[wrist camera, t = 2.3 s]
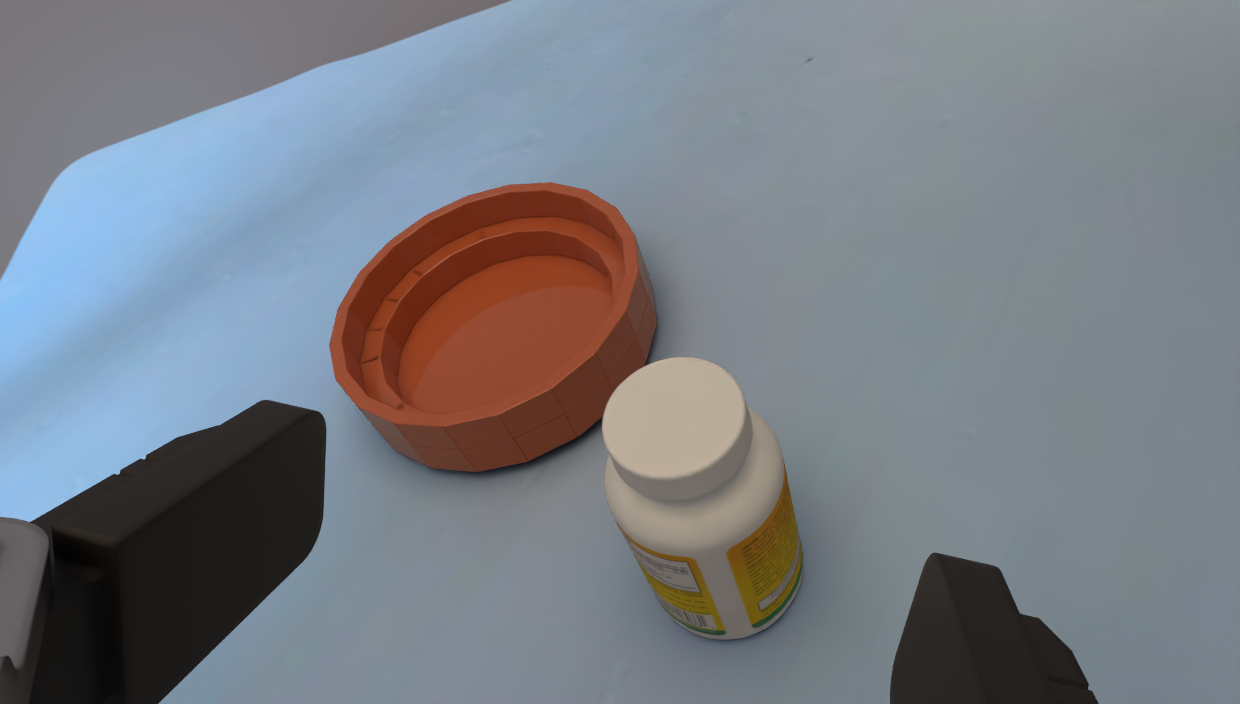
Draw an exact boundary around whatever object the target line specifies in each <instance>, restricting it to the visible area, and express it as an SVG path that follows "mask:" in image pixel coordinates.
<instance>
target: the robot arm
mask: <svg viewBox="0 0 1240 704" xmlns="http://www.w3.org/2000/svg"><path fill="white" fill-rule="evenodd" d="M325 454H326V423H325V420H324V417H323V415H322V414H321V413H320V412H318V411H314V410H310V409H305V408H301V407H297V406H292V405H288V404H283V403H279V402H275V401H270V400H262V401H260V402H258V403H256V404H255V405H253V406H251V407H250V408H248V409H246V410H245V411H243V412H241V413H240V414H238V415H236V416H235V417H233V418H231V419H230V420H228V421H226V422H225V423H223V424H221V425H219V426H214V427H211V428H208V429H204V430H201V431H197V432H194V433H191V434H187V435H184V436H180V437H177V438H175V439H174V440H172V441H170V442H169V443H167V444H165V445H163V446H162V447H160V448H158V449H156V450H155V451H153V452H151V453H149V454H148V455H146V459H145V460H143V459H139V460H137V461H136V462H134V463H132V464H130V465H129V466H127V467H125V468H123V469H122V470H121V471H120V474H119V475H116V474H113V475H111V476H110V477H108V478H106V479H104V480H103V481H101V482H99V483H97V484H96V485H94V486H92V487H90V488H89V489H87V490H85V491H84V492H82V493H80V494H78V495H77V496H75V497H73V498H71V499H70V500H68V501H66V502H64V503H63V504H61V505H59V506H57V507H56V508H54V509H52V510H51V511H49V512H47V513H45V514H44V515H42V516H40V517H38V518H37V519H35V520H33V521H31V522H27V521H24V520H19V519H14V518H5V517H0V704H158V703H159V702H160V701H161V700H162V699H163V698H164V697H165V696H166V695H167V694H169V693H170V692H171V691H172V690H173V689H174V688H175V687H176V686H177V685H178V684H179V683H180V682H181V681H182V680H183V679H184V678H185V677H186V676H187V675H188V674H189V673H190V672H191V671H192V670H193V669H194V668H195V667H196V666H197V665H198V664H199V663H200V662H201V661H202V660H203V659H204V658H205V657H206V656H207V655H208V654H209V653H210V652H211V651H212V650H213V649H214V648H215V647H216V646H217V645H218V644H219V643H220V642H221V641H222V640H223V639H225V638H226V637H227V636H228V635H229V634H230V633H231V632H232V631H233V630H234V629H235V628H236V627H237V626H238V625H239V624H240V623H241V622H242V621H243V620H244V619H245V618H246V617H247V616H248V615H249V614H250V613H251V612H252V611H253V610H254V609H255V608H256V607H257V606H258V605H259V604H260V603H261V602H262V601H263V600H264V599H265V598H266V597H267V596H268V595H269V594H270V593H271V592H272V591H273V590H274V589H275V588H276V587H277V586H278V585H279V584H280V583H282V582H283V581H284V580H285V579H286V578H287V577H288V576H289V575H290V574H291V573H292V572H293V571H294V570H295V569H296V568H297V567H298V566H299V565H300V564H301V563H302V562H303V561H304V560H305V559H306V557H307V556H308V555H309V553H310V552H311V550H312V548H313V547H314V544H315V542H316V540H317V538H318V535H319V532H320V529H321V525H322V520H323V509H324V482H325ZM1088 685H1089V684H1088V682H1087V680H1086V678H1085V676H1084V674H1083V672H1082V670H1081V668H1080V666H1079V664H1078V662H1077V660H1076V658H1075V656H1074V654H1073V652H1072V651H1071V650H1070V649H1069V648H1068V647H1067V646H1066V645H1065V644H1064V643H1063V642H1062V641H1061V640H1060V639H1059V638H1058V637H1057V636H1056V635H1055V634H1054V633H1053V632H1052V631H1051V630H1050V629H1049V628H1048V627H1047V626H1046V625H1045V624H1044V623H1043V622H1042V621H1041V620H1040V619H1039V618H1036V617H1031V616H1027V615H1023V614H1020V613H1019V611H1018V609H1017V606H1016V604H1015V602H1014V600H1013V597H1012V595H1011V593H1010V590H1009V588H1008V586H1007V584H1006V581H1005V579H1004V577H1003V575H1002V573H1001V571H1000V569H999V568H998V567H996V566H992V565H988V564H983V563H979V562H975V561H970V560H966V559H961V558H957V557H953V556H948V555H944V554H939V553H932V554H931V555H930V556H929V557H928V559H927V561H926V563H925V565H924V568H923V571H922V574H921V577H920V580H919V583H918V586H917V589H916V593H915V596H914V599H913V602H912V605H911V608H910V612H909V615H908V618H907V621H906V624H905V627H904V631H903V634H902V637H901V640H900V643H899V647H898V650H897V653H896V656H895V660H894V665H893V670H892V677H891V687H890V704H1098V702H1097V700H1096V698H1095V696H1094V694H1093V692H1092V691H1090V690H1088Z"/></svg>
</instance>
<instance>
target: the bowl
mask: <svg viewBox="0 0 1240 704" xmlns="http://www.w3.org/2000/svg"><path fill="white" fill-rule="evenodd" d="M656 325H657V317H656V308H655V300H654V292H653V286H652V283H651V281H650V278H649V275H648V272H647V269H646V266H645V263H644V260H643V257H642V255H641V252H640V249H639V246H638V243H637V240H636V237H635V235H634V233H633V232H632V230H631V229H630V227H629V226H628V224H627V223H626V221H625V220H624V218H623V216H622V215H621V213H620V212H619V210H618V209H617V208H616V207H614V206H612V205H611V204H609V203H608V202H606V201H604V200H603V199H601V198H599V197H598V196H596V195H594V194H593V193H591V192H589V191H587V190H585V189H580V188H575V187H570V186H566V185H561V184H556V183H532V184H513V185H506V186H502V187H499V188H495V189H491V190H487V191H483V192H480V193H476V194H472V195H468V196H467V197H463V198H461V199H459V200H457V201H455V202H453V203H451V204H449V205H446V206H444V207H442V208H440V209H438V210H436V211H434V212H432V213H429V214H427V215H426V216H424V217H423V218H421V219H420V220H418V221H417V222H415V223H414V224H413V225H411V226H410V227H408V228H407V229H406V230H404V231H403V232H401V233H400V234H399V235H397V236H396V237H394V238H393V239H392V240H390V241H389V242H388V243H387V244H386V245H385V246H384V247H383V248H382V249H381V250H380V251H379V252H378V253H377V254H376V255H375V256H374V258H373V259H372V260H371V261H370V262H369V263H368V264H367V265H366V266H365V267H364V268H363V269H362V270H361V271H360V272H359V274H358V275H357V277H356V278H355V280H354V282H353V284H352V285H351V287H350V289H349V290H348V292H347V294H346V296H345V297H344V299H343V301H342V302H341V304H340V306H339V307H338V310H337V314H336V319H335V323H334V327H333V331H332V336H331V340H330V345H329V347H330V352H331V358H332V363H333V369H334V374H335V379H336V381H337V382H338V383H339V385H340V386H341V387H342V388H343V390H344V391H345V392H346V393H347V395H348V396H349V397H350V398H351V400H352V401H353V402H354V403H355V405H356V406H357V407H358V408H359V409H360V411H361V412H362V413H363V414H364V415H365V416H366V418H367V419H368V420H369V421H370V422H371V423H372V425H373V426H374V427H375V428H376V429H377V430H378V432H379V433H380V434H381V435H382V436H383V437H384V439H385V440H386V441H387V442H388V443H389V444H390V446H391V447H392V448H393V449H394V450H395V451H397V452H399V453H401V454H403V455H405V456H407V457H409V458H411V459H413V460H415V461H417V462H419V463H421V464H423V465H425V466H427V467H430V468H435V469H446V470H458V471H469V472H481V471H485V470H490V469H495V468H500V467H505V466H510V465H514V464H519V463H524V462H528V460H529V461H530V460H532V459H534V458H536V457H538V456H540V455H542V454H544V453H546V452H548V451H551V450H553V449H555V448H557V447H559V446H561V445H563V444H565V443H567V442H569V441H571V440H573V439H575V438H577V436H578V437H579V436H580V435H581V434H582V433H584V432H585V431H586V430H587V429H588V428H589V427H591V426H592V425H593V424H594V423H595V422H597V421H598V420H599V419H600V418H601V417H602V416H603V415H604V411H605V408H606V405H607V403H608V401H609V399H610V397H611V395H612V394H613V392H614V391H615V390H616V388H617V387H618V386H619V385H620V384H621V383H622V382H623V381H624V380H625V379H626V378H628V377H629V376H630V375H631V374H633V373H634V372H636V371H637V370H639V369H640V368H642V367H644V365H645V362H646V360H647V357H648V353H649V350H650V346H651V343H652V339H653V336H654V332H655V329H656Z"/></svg>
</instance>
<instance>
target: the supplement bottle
mask: <svg viewBox="0 0 1240 704" xmlns="http://www.w3.org/2000/svg"><path fill="white" fill-rule="evenodd" d="M602 433H603V439H604V443H605V446H606V448H607V450H608V453H609V455H608V458H607V462H606V467H605V476H604V485H605V493H606V498H607V502H608V505H609V507H610V510H611V512H612V514H613V516H614V518H615V521H616V522H617V525H618V527H619V528H620V530H621V532H622V534H623V536H624V537H625V539H626V541H627V543H628V545H629V547H630V549H631V551H632V552H633V554H634V556H635V558H636V560H637V562H638V563H639V565H640V567H641V569H642V571H643V573H644V575H645V577H646V579H647V581H648V583H649V585H650V586H651V588H652V590H653V592H654V594H655V595H656V597H657V599H658V601H659V602H660V604H661V605H662V607H663V608H664V610H665V611H666V612H667V614H668V615H669V616H670V617H671V618H672V619H673V620H674V621H675V622H677V623H678V624H679V625H681V626H682V627H683V628H685V629H687V630H688V631H690V632H692V633H694V634H697V635H699V636H702V637H706V638H710V639H721V640H730V639H739V638H744V637H748V636H750V635H753V634H755V633H758V632H760V631H762V630H764V629H766V628H768V627H769V626H770V625H772V624H773V623H774V622H775V621H776V620H777V619H778V618H779V617H780V616H781V615H782V614H783V613H784V612H785V610H786V609H787V608H788V607H789V605H790V604H791V602H792V601H793V599H794V598H795V596H796V593H797V591H798V589H799V586H800V583H801V579H802V574H803V554H802V547H801V542H800V538H799V533H798V529H797V524H796V519H795V514H794V509H793V505H792V500H791V494H790V490H789V485H788V480H787V474H786V469H785V464H784V459H783V456H782V452H781V448H780V445H779V443H778V440H777V438H776V436H775V434H774V432H773V431H772V429H771V428H770V426H769V425H768V423H767V422H766V421H765V420H764V419H763V418H762V417H761V416H760V415H759V414H758V413H757V412H755V411H754V410H753V409H752V408H750V407H749V406H747V404H746V401H745V398H744V395H743V392H742V390H741V388H740V386H739V384H738V383H737V382H736V381H735V379H734V378H733V377H732V376H731V375H730V374H729V373H728V372H727V371H726V370H724V369H723V368H721V367H720V366H718V365H716V364H714V363H712V362H709V361H706V360H703V359H698V358H692V357H675V358H668V359H664V360H660V361H656V362H654V363H651V364H649V365H646V366H644V367H642V368H640V369H639V370H637V371H636V372H634V373H633V374H631V375H630V376H629V377H628V378H626V379H625V380H624V381H623V382H622V383H621V384H620V385H619V386H618V387H617V388H616V390H615V391H614V392H613V394H612V395H611V397H610V399H609V401H608V403H607V405H606V408H605V411H604V415H603V421H602Z"/></svg>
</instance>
